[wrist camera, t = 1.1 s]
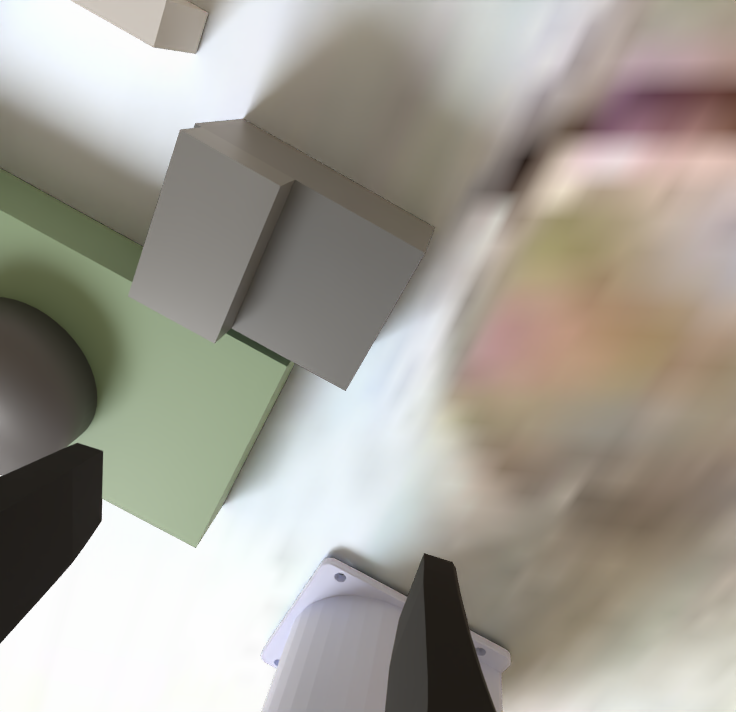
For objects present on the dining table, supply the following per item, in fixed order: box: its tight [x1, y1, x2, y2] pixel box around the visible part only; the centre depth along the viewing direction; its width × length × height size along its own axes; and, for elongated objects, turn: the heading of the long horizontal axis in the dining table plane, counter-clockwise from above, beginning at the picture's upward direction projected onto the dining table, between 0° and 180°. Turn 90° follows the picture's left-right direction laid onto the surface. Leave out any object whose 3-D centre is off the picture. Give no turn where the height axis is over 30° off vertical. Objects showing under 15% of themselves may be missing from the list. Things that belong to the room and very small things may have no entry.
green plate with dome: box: [0, 0, 295, 548], centre depth 19 cm, size 16×18×4 cm
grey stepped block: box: [128, 119, 435, 391], centre depth 17 cm, size 7×5×5 cm
